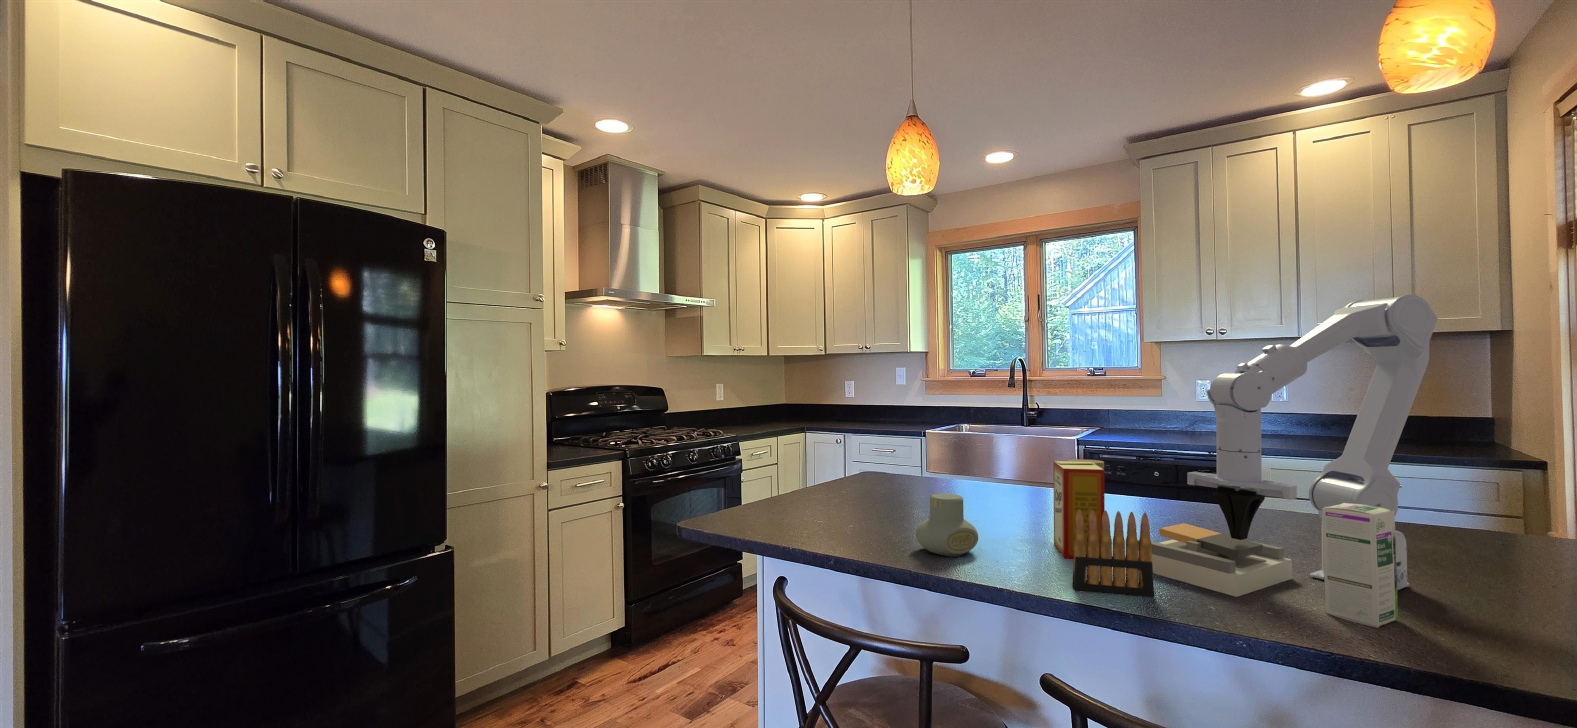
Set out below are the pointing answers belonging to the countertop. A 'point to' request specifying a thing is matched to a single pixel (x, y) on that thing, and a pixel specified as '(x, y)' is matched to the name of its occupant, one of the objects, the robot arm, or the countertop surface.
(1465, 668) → the countertop surface
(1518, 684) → the countertop surface
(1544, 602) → the countertop surface
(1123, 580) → the ammunition clip
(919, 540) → the air freshener
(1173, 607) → the countertop surface
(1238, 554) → the breaker rocker
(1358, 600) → the syrup box
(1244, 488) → the robot arm
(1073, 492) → the baking soda box
